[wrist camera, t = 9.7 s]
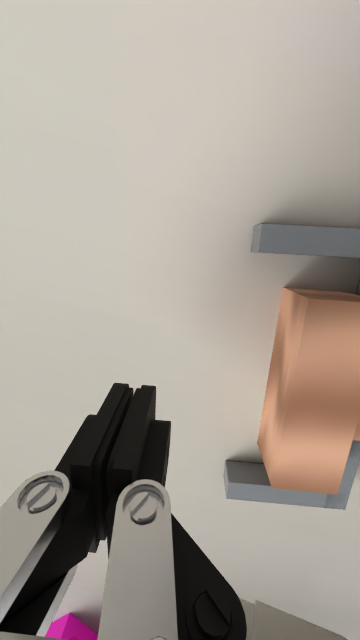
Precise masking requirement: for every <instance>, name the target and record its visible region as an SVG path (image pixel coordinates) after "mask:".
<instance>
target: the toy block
mask: <svg viewBox="0 0 360 640" xmlns="http://www.w3.org/2000/svg"><path fill="white" fill-rule="evenodd" d="M45 637H50V638H58V639H66V640H97V639H98V635H97V634H96V633H95V632H93V631H92V630H91V629H90V628H88V627H87V626H86V625H85V624H83V623H82V622H81V621H79V620H78V619H77V618H76V617H74V616H73V615H72V614H71V613H69V614H67V615H65V616H63V617H61V618H60V619H58V620H56V621H54V622H53V623H51V625H50V627H49V629H48V631H47V633H46V635H45Z"/></svg>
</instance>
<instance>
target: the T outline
mask: <svg viewBox="0 0 360 640" xmlns="http://www.w3.org/2000/svg"><path fill="white" fill-rule="evenodd" d="M251 252H264V253H282V254H300V255H318V256H335V257H353V258H360V229H358V228H339V227H320V226H300V225H281V224H259V225H257V226H254V230H253V238H252V247H251ZM356 295H359V296H360V281H359V285H358V289H357V294H356ZM359 459H360V441H358V440H353V441H352V444H351V448H350V451H349V455H348V458H347V462H346V466H345V469H344V473H343V476H342V480H341V483H340V487H339V491H338V494H337V495H336V494H326V493H316V492H306V491H295V490H285V489H275V488H272V487H271V484H270V481H269V477H268V474H267V471H266V468H265V465H264V464H259V463H248V462H236V461H225V469H224V483H225V491H226V499H236V500H246V501H257V502H268V503H279V504H289V505H300V506H311V507H322V508H332V509H343V510H345V508H346V505H347V501H348V498H349V494H350V491H351V487H352V484H353V480H354V477H355V473H356V470H357V466H358V463H359Z"/></svg>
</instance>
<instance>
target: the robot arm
mask: <svg viewBox="0 0 360 640" xmlns="http://www.w3.org/2000/svg"><path fill="white" fill-rule="evenodd" d="M155 407H156V386H148V385H142V386H141V389H140V388H137V389H136V391H135V393H134V396H133V388H129V385H128V384H122V383H114V384H113V386H112V388H111V390H110V392H109V393H108V395H107V397H106V399H105V401H104V403H103V404H102V406H101V408H100V410H99V412H98V413H97V415H88V416H87V418H86V419H85V421H84V422H83V424H82V426H81V427H80V429H79V431H78V432H77V434H76V436H75V437H74V439H73V441H72V442H71V444H70V446H69V447H68V449H67V451H66V452H65V454H64V456H63V457H62V459H61V461H60V462H59V464H58V466H57V467H56V469H55V471H45V472H41V473H38V474H36V475H34V476H32V477H30V478H29V479H27V480H26V481H25V482H23V483H22V484H21V485H20V486H19V487H18V488H17V489H16V491H15V492H14V493H13V494H12V495H11V496H10V497H9V499H8V500H7V501H6V502H5V503H4V504H3V505H2V507H1V508H0V640H66V639H58V638H50V637H45V635H46V633H47V631H48V629H49V627H50V625H51V623H52V621H53V619H54V616H55V614H56V612H57V610H58V608H59V606H60V604H61V602H62V600H63V598H64V596H65V594H66V592H67V590H68V587H69V585H70V583H71V581H72V579H73V577H74V575H75V572H76V569H77V564H78V563H79V562H80V561H82V560H83V559H84V558H86V557H87V554H88V552H93V553H96V551H97V548H98V545H99V542H100V540H106V537H107V543H108V559H109V561H108V568H107V575H106V582H105V589H104V596H103V603H102V610H101V617H100V624H99V631H98V639H97V640H347V639H346V638H344V637H343V636H341V635H339V634H336V633H334V632H332V631H329V630H327V629H324V628H322V627H320V626H317V625H315V624H312V623H310V622H307V621H305V620H303V619H300V618H298V617H295V616H293V615H291V614H288V613H286V612H283V611H281V610H279V609H276V608H274V607H271V606H269V605H266V604H264V603H262V602H259V601H257V600H256V601H255V604H252V603H250V602H248V601H245V600H243V599H240V598H238V596H237V594H236V593H235V591H234V590H233V588H232V587H231V586H230V585H229V583H228V582H227V581H226V580H225V578H224V577H223V576H222V575H221V574H220V572H219V571H218V570H217V569H216V567H215V566H214V565H213V564H212V563H211V561H210V560H209V559H208V558H207V556H206V555H205V554H204V553H203V551H202V550H201V549H200V548H199V547H198V545H197V544H196V543H195V542H194V540H193V539H192V538H191V537H190V536H189V534H188V533H187V532H186V531H185V529H184V528H183V527H182V526H181V524H180V523H179V522H178V521H177V520H176V518H175V517H174V516H173V515H172V513H171V505H170V498H169V494H168V492H167V491H166V489H165V482H166V474H167V466H168V458H169V447H170V431H171V421H162V420H155Z"/></svg>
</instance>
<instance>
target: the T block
mask: <svg viewBox="0 0 360 640" xmlns="http://www.w3.org/2000/svg"><path fill="white" fill-rule="evenodd" d="M353 440H358V441H360V296H359V295H355V294H352V293H348V292H339V291H325V290H311V289H296V288H283V292H282V298H281V304H280V310H279V316H278V322H277V328H276V334H275V340H274V346H273V352H272V358H271V364H270V370H269V376H268V382H267V388H266V394H265V400H264V406H263V412H262V418H261V424H260V430H259V436H258V442H257V443H258V446H259V449H260V453H261V456H262V459H263V462H264V465H265V468H266V471H267V474H268V477H269V481H270V484H271V487H272V488H275V489H285V490H295V491H306V492H316V493H326V494H336V495H337V494H338V491H339V487H340V483H341V480H342V476H343V473H344V469H345V466H346V462H347V458H348V455H349V451H350V448H351V444H352V441H353Z"/></svg>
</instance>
